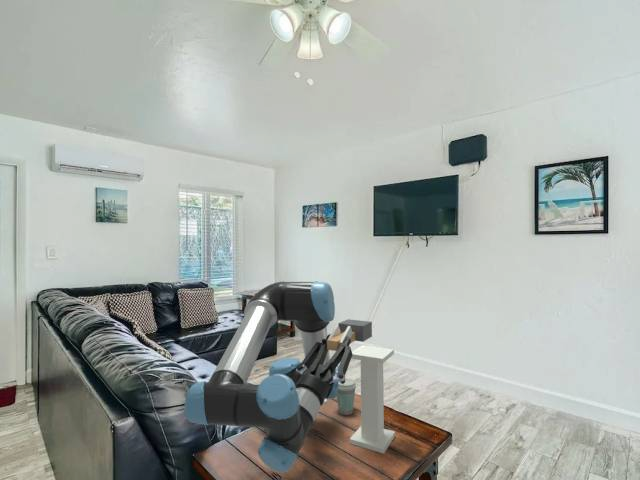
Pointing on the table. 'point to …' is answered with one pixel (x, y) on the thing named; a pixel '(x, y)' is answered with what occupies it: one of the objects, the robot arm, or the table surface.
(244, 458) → the table surface
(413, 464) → the table surface
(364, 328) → the hammer
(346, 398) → the coffee cup
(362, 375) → the tall stand
